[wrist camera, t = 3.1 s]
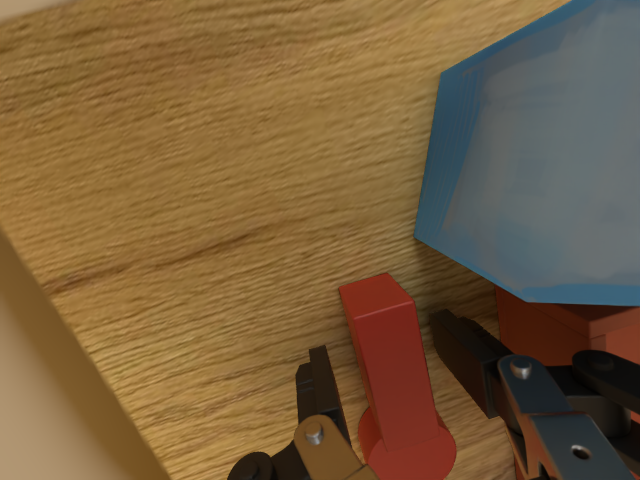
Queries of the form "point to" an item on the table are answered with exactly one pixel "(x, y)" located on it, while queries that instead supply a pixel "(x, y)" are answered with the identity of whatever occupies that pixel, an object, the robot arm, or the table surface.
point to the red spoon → (395, 384)
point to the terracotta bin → (567, 332)
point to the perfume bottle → (543, 159)
